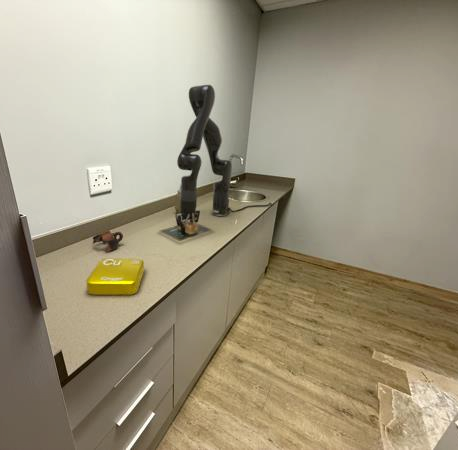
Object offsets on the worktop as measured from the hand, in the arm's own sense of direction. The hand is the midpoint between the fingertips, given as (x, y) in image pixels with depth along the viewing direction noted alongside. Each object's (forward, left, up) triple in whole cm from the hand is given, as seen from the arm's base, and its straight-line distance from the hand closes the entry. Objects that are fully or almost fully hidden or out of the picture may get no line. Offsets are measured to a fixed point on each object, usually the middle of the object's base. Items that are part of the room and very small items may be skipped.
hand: (187, 232), depth 118 cm
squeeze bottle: (-20, -29, -2) cm, 35 cm away
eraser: (0, 0, 0) cm, 0 cm away
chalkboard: (-2, -3, -1) cm, 4 cm away
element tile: (+43, +14, -2) cm, 46 cm away
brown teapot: (+34, -12, -2) cm, 36 cm away
